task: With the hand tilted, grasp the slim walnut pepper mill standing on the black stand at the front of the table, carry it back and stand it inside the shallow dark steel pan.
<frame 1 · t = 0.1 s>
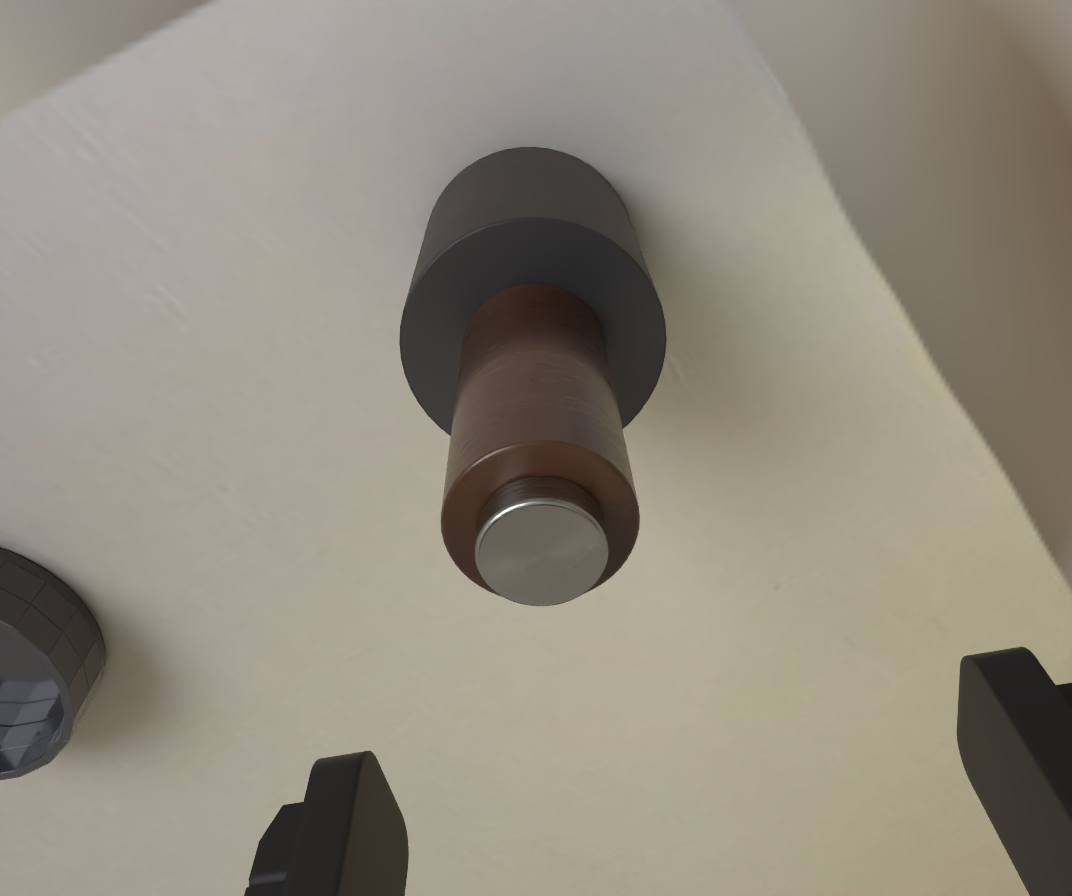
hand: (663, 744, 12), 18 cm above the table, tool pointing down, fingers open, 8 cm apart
pepper mill: (533, 349, 21), point 7 cm above the table, touching stand
stand: (529, 253, 27), on the table
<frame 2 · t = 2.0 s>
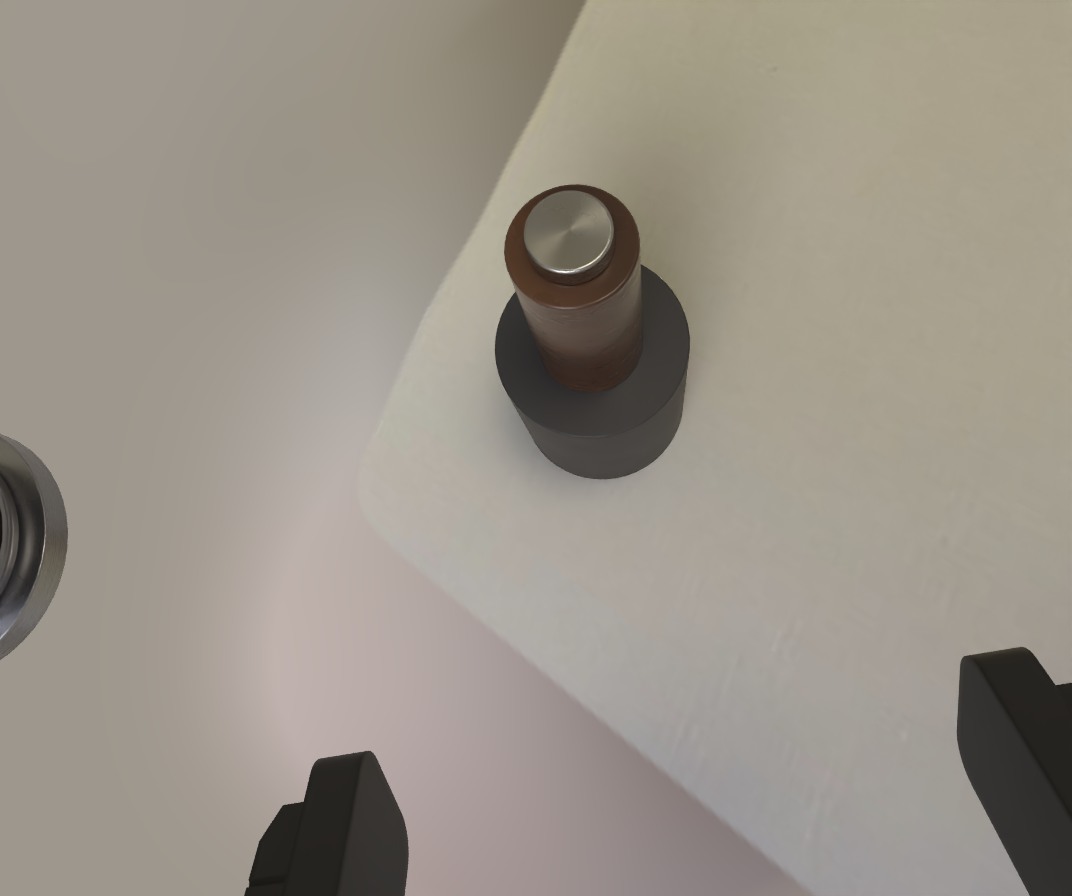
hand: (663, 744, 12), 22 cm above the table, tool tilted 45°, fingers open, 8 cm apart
pepper mill: (590, 343, 29), point 7 cm above the table, touching stand
stand: (602, 401, 36), on the table
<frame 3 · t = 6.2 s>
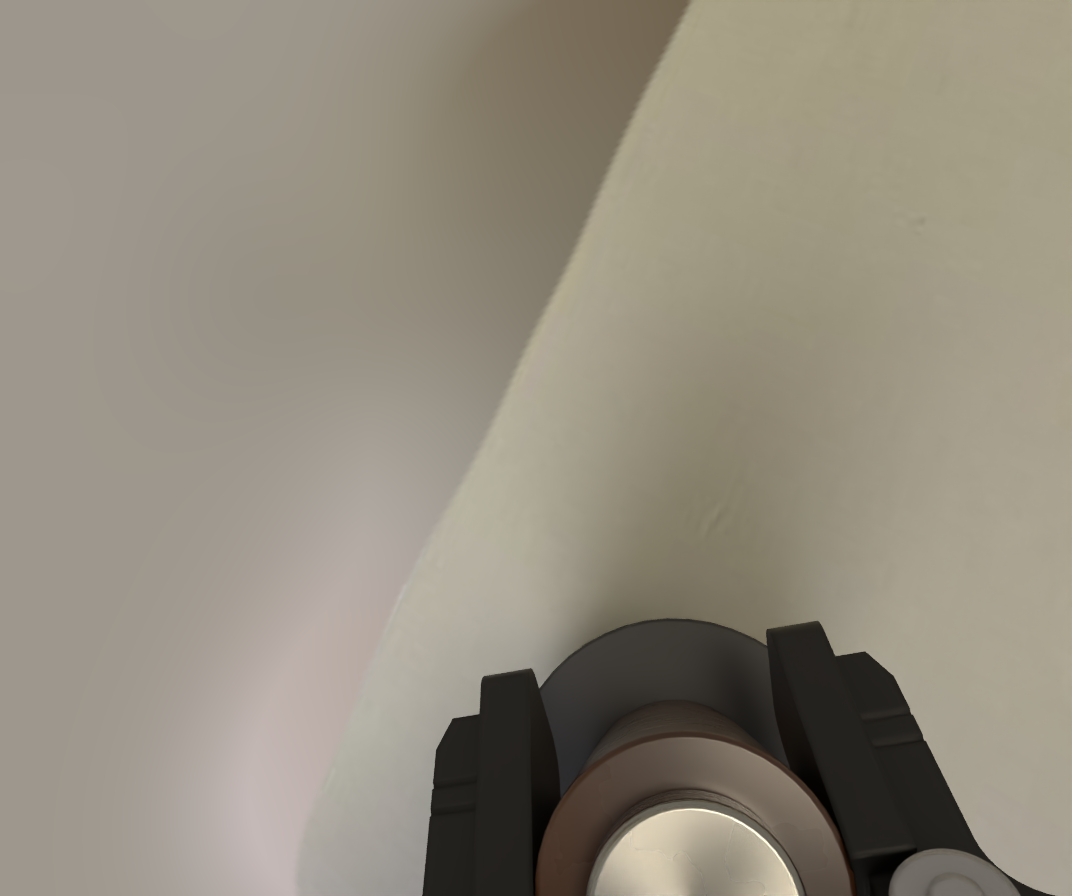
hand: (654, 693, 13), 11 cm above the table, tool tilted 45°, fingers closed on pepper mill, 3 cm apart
pepper mill: (677, 795, 16), point 7 cm above the table, touching gripper, stand
stand: (672, 754, 23), on the table
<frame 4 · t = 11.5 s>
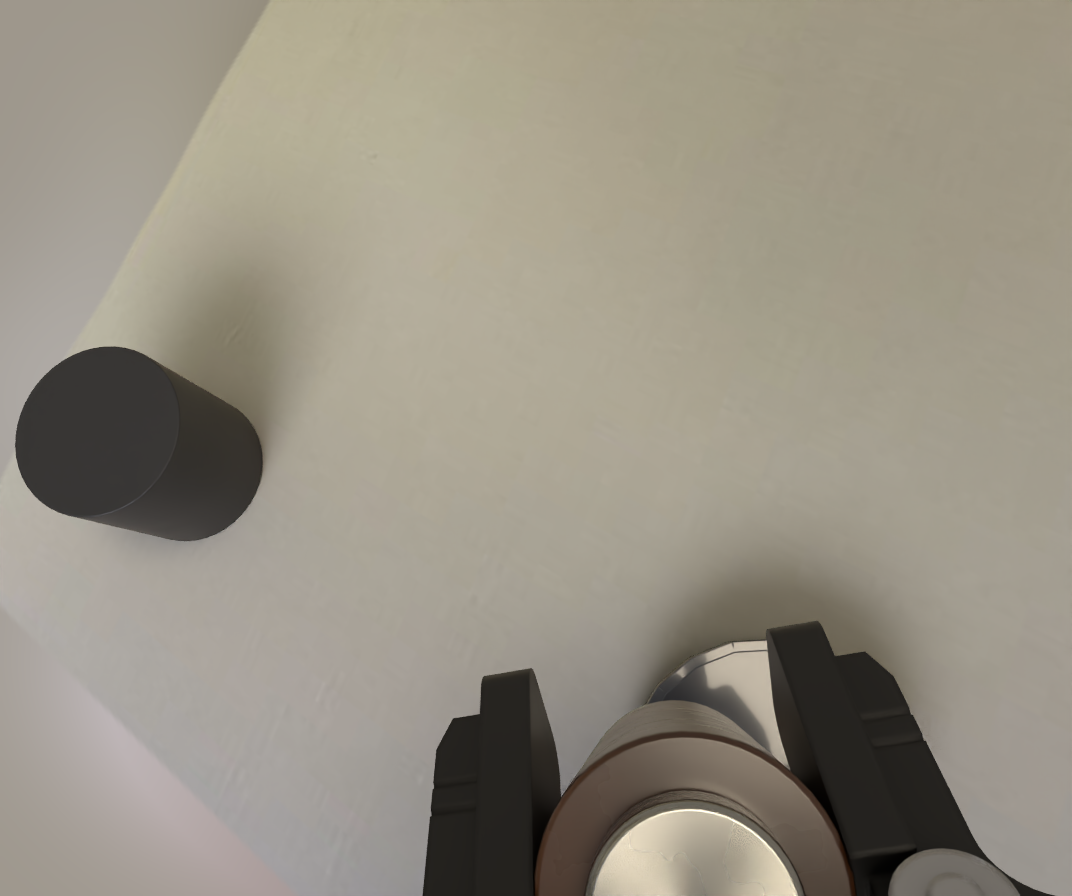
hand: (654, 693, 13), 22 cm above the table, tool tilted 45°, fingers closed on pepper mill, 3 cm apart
pepper mill: (677, 795, 16), point 18 cm above the table, touching gripper
pan: (760, 774, 33), on the table
stand: (193, 468, 39), on the table
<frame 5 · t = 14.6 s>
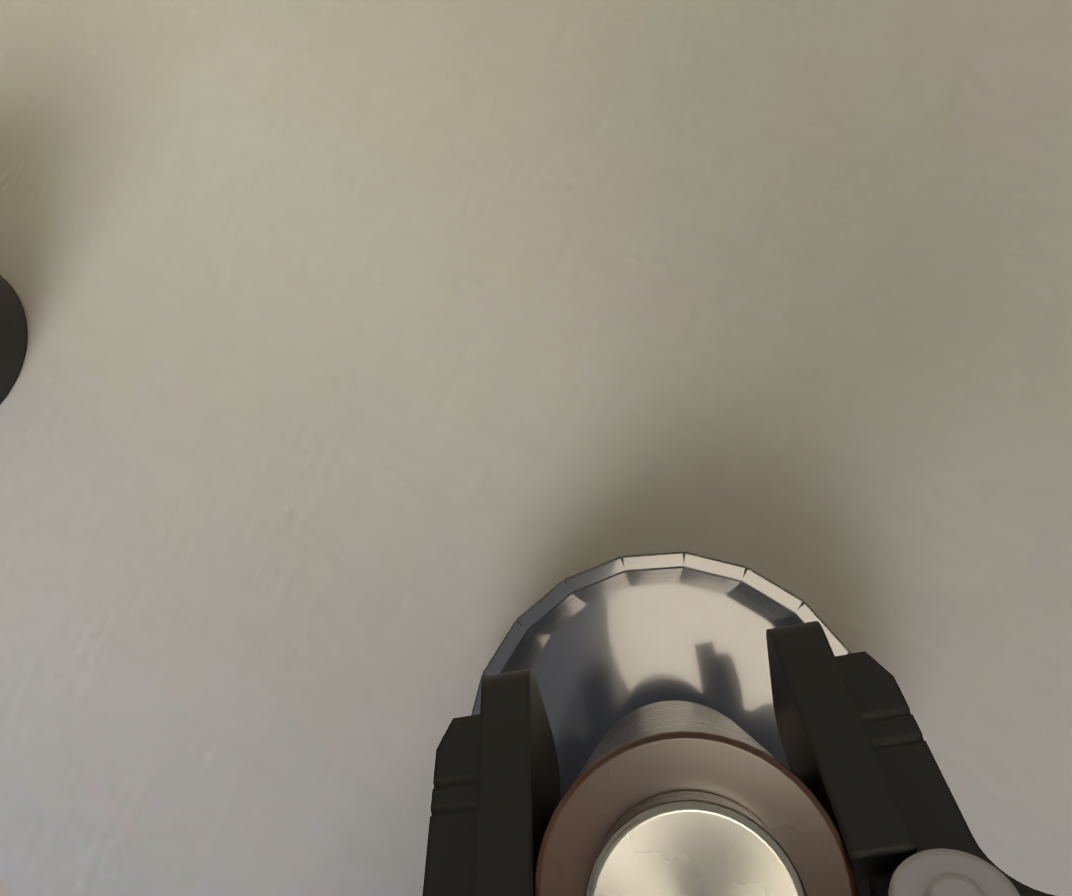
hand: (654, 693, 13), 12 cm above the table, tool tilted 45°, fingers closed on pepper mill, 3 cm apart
pepper mill: (678, 796, 16), point 8 cm above the table, touching gripper
pan: (669, 748, 24), on the table
when the fingers open (4 cm above the table, at t = 16.9 s): pepper mill stays where it is, resting on pan.
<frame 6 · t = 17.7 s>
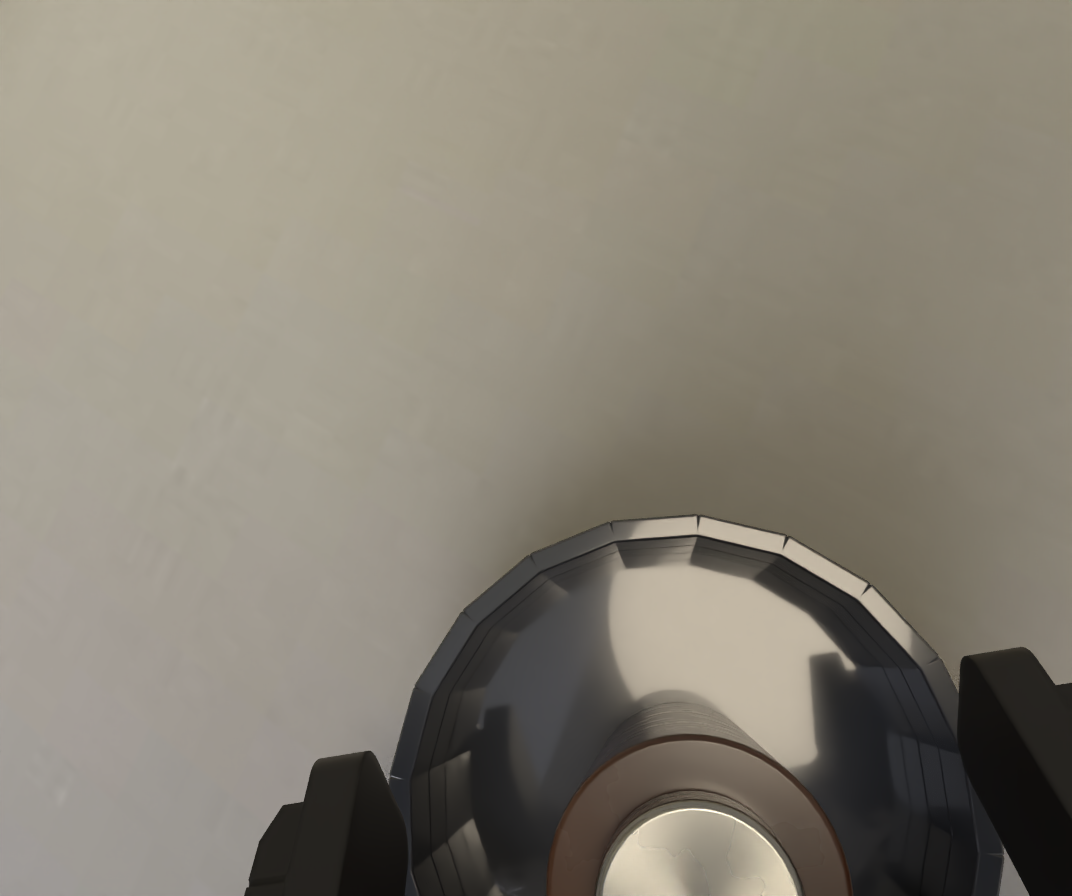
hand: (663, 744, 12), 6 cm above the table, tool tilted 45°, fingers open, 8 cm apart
pepper mill: (681, 795, 17), resting on pan
pan: (677, 788, 17), on the table
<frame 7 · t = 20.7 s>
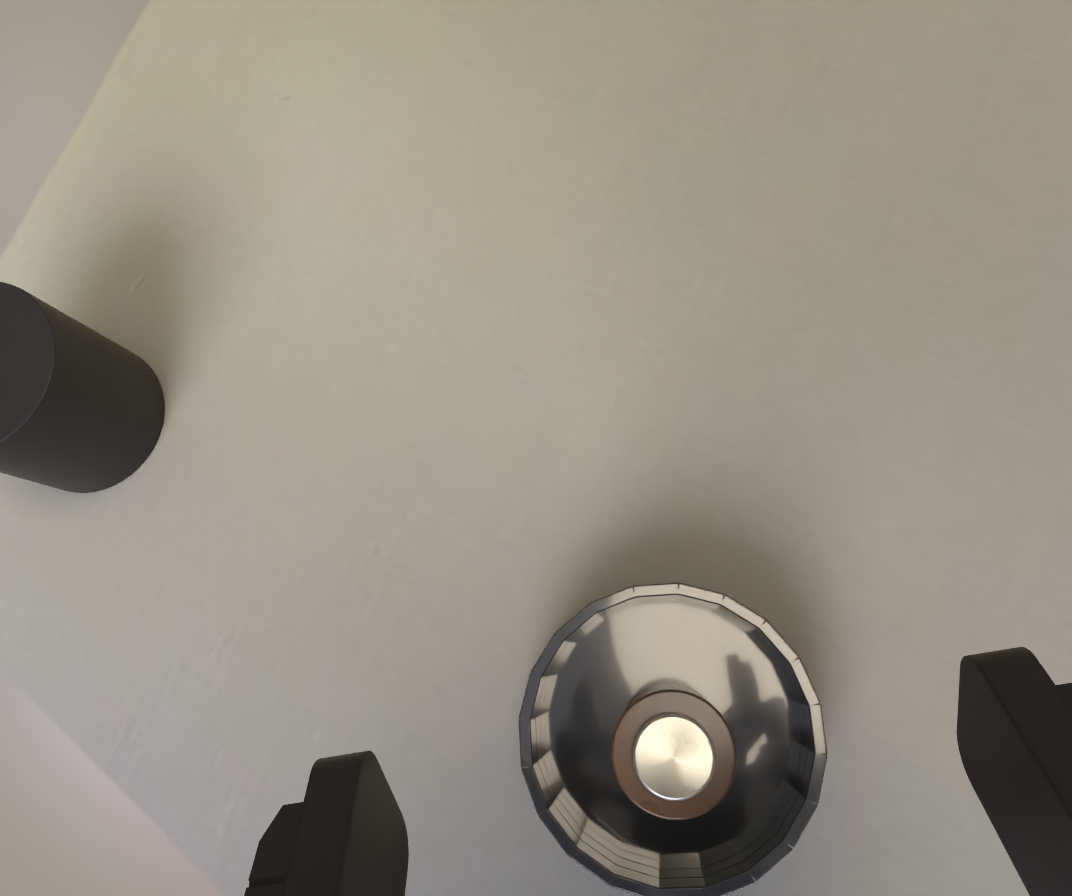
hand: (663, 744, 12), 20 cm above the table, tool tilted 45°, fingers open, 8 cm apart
pepper mill: (670, 732, 31), resting on pan
pan: (668, 728, 32), on the table
stand: (93, 418, 37), on the table
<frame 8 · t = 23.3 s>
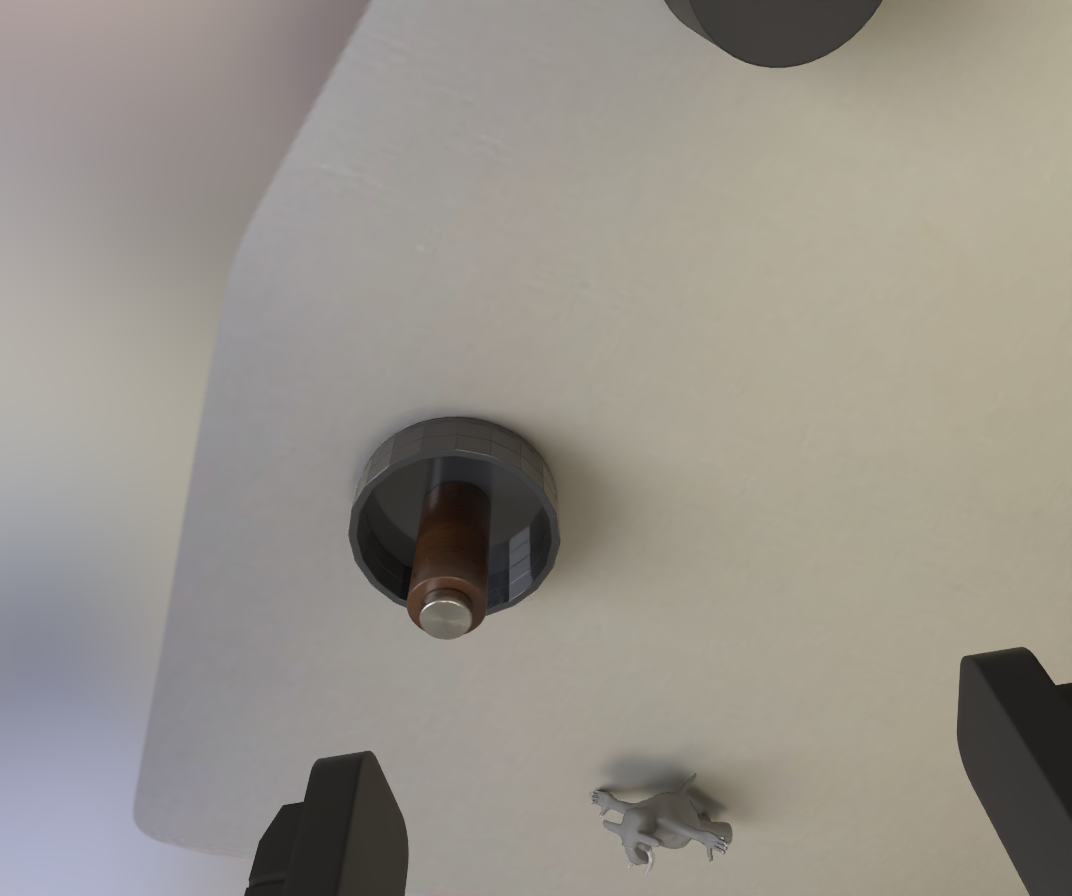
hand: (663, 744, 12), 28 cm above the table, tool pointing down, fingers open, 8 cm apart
grey creature figurine: (671, 778, 55), on the table
pepper mill: (456, 509, 44), resting on pan
pan: (458, 502, 44), on the table
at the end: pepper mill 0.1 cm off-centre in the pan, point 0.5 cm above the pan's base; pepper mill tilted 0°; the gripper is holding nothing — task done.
